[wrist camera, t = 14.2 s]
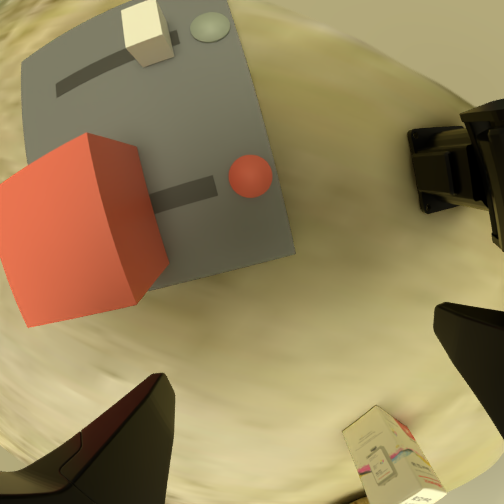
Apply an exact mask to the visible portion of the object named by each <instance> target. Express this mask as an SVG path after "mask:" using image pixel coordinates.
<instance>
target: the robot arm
mask: <svg viewBox="0 0 504 504" xmlns="http://www.w3.org/2000/svg"><path fill="white" fill-rule="evenodd" d="M459 115H460V117H461V120H462V122H464V124H465V126H466V128H464V127H462V126H450V127H433V128H419V129H412V130H409V132H408V139H409V143H410V147H411V152H412V160H413V165H414V170H415V176H416V182H417V188H418V191H419V198H420V205H421V210H422V212H423V213H426V214H430V213H434V212H438V211H441V210H445V209H449V208H452V207H456V206H460V205H461V206H466V207H471V208H476V209H481V210H486V211H489V214H490V220H491V226H492V232H493V233H492V241H493V243H495V244H496V245H497V246H498V247H499V248H500V249H502V251H503V252H504V99H500V100H496V101H492V102H489V103H486V104H484V105H481V106H478V107H476V108H473V109H470V110H468V111H465V112H463V113H460V114H459ZM413 133H414V134H415V136H416V138H414V136H413ZM427 205H428V209H427V210H426V206H427ZM433 329H434V332H435V334H436V336H437V338H438V339H439V341H440V343H441V344H442V346H443V348H444V349H445V351H446V353H447V354H448V356H449V358H450V359H451V361H452V363H453V364H454V366H455V367H456V369H457V370H458V371H459V373H460V374H461V375H462V377H463V378H464V380H465V381H466V382H467V384H468V385H469V387H470V388H471V390H472V391H473V392H474V394H475V395H476V397H477V398H478V400H479V401H480V403H481V404H482V406H483V407H484V409H485V410H486V412H487V413H488V415H489V417H490V418H491V420H492V421H493V423H494V424H495V426H496V428H497V429H498V431H499V433H500V434H501V436H502V438H503V439H504V312H503V311H497V310H491V309H485V308H479V307H473V306H467V305H461V304H455V303H449V302H444V303H441V304H439V305H437V306H436V307H435V310H434V323H433ZM174 420H175V393H174V390H173V388H172V386H171V384H170V382H169V380H168V378H167V376H166V375H165V374H164V373H155V374H151V375H150V376H149V377H148V378H146V379H145V380H144V381H143V382H141V383H140V384H139V385H138V386H137V387H135V388H134V389H133V390H132V391H130V392H129V393H128V394H127V395H125V396H124V397H123V398H122V399H120V400H119V401H118V402H117V403H115V404H114V405H113V406H112V407H110V408H109V409H108V410H107V411H105V412H104V413H103V414H102V415H100V416H99V417H98V418H97V419H95V420H94V421H93V422H91V423H90V424H89V425H88V426H86V427H85V428H84V429H82V430H81V432H78V433H77V434H76V435H75V436H73V437H72V438H71V439H69V440H68V441H66V442H65V443H64V444H62V445H61V446H59V447H58V448H56V449H55V450H53V451H52V452H50V453H49V454H47V455H45V456H44V457H42V458H40V459H39V460H37V461H35V462H34V463H32V464H30V465H29V466H27V467H25V468H23V469H21V470H18V471H14V472H2V471H0V504H165V497H166V489H167V481H168V474H169V467H170V459H171V453H172V446H173V439H174Z"/></svg>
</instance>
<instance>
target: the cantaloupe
mask: <svg viewBox="0 0 504 504" xmlns="http://www.w3.org/2000/svg"><path fill="white" fill-rule="evenodd" d="M349 504H370V503H369V500H368V498H367V497H364V498H361V499H358V500H356V501H354V502H351V503H349Z"/></svg>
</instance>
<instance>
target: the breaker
mask: <svg viewBox="0 0 504 504" xmlns="http://www.w3.org/2000/svg"><path fill="white" fill-rule="evenodd" d="M121 15H122V24H123V32H124V39H125V47H126V49H127V50H128V51H129V52H130V53H131V55H132V56H133V57H134V58H135V59H136V60H137V61H138V62H139V64H140V65H141V66H142V67H146V66H149V65H151V64H154V63H157V62H160V61H163V60H166V59H169V58H172V57H174V53H173V48H172V44H171V39H170V34H169V30H168V25H167V21H166V19H165V17H164V15H163V13H162V11H161V9H160V6H159V4H158V2H157V0H147V1H144V2H141V3H138V4H136V5H133V6H131V7H128V8H126V9H123V10H121Z"/></svg>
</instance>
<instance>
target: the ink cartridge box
mask: <svg viewBox="0 0 504 504" xmlns="http://www.w3.org/2000/svg"><path fill="white" fill-rule="evenodd" d="M342 433H343V436H344V438H345V441H346V443H347V446H348V448H349V451H350V453H351V456H352V458H353V461H354V464H355V466H356V469H357V471H358V474H359V476H360V479H361V482H362V484H363V487H364V490H365V492H366V495H367V498H368V500H369V503H370V504H433V503H435V502H436V501H438V500H439V499H441V498H442V497H443V496H445V495H446V494H447V492H446V490H445V488H444V487H443V485H442V484H441V482H440V480H439V479H438V477H437V475H436V474H435V472H434V470H433V469H432V467H431V466H430V464H429V462H428V460H427V459H426V457H425V455H424V454H423V452H422V450H421V449H420V447H419V445H418V444H417V442H416V440H415V439H414V437H413V435H412V434H411V432H410V431H409V429H408V428H407V427H406V426H405V425H403V424H402V423H400V422H399V421H397V420H396V419H395V418H393V417H392V416H391V415H389V414H388V413H386V412H385V411H384V410H382V409H381V408H380V407H378V406H374V407H373V408H372V409H371V410H370V411H368V412H367V413H366V414H365V415H363V416H362V417H361V418H360V419H358V420H357V421H356V422H355V423H353V424H352V425H351V426H349V427H348V428H347V429H345V430H344V431H343V432H342Z"/></svg>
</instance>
